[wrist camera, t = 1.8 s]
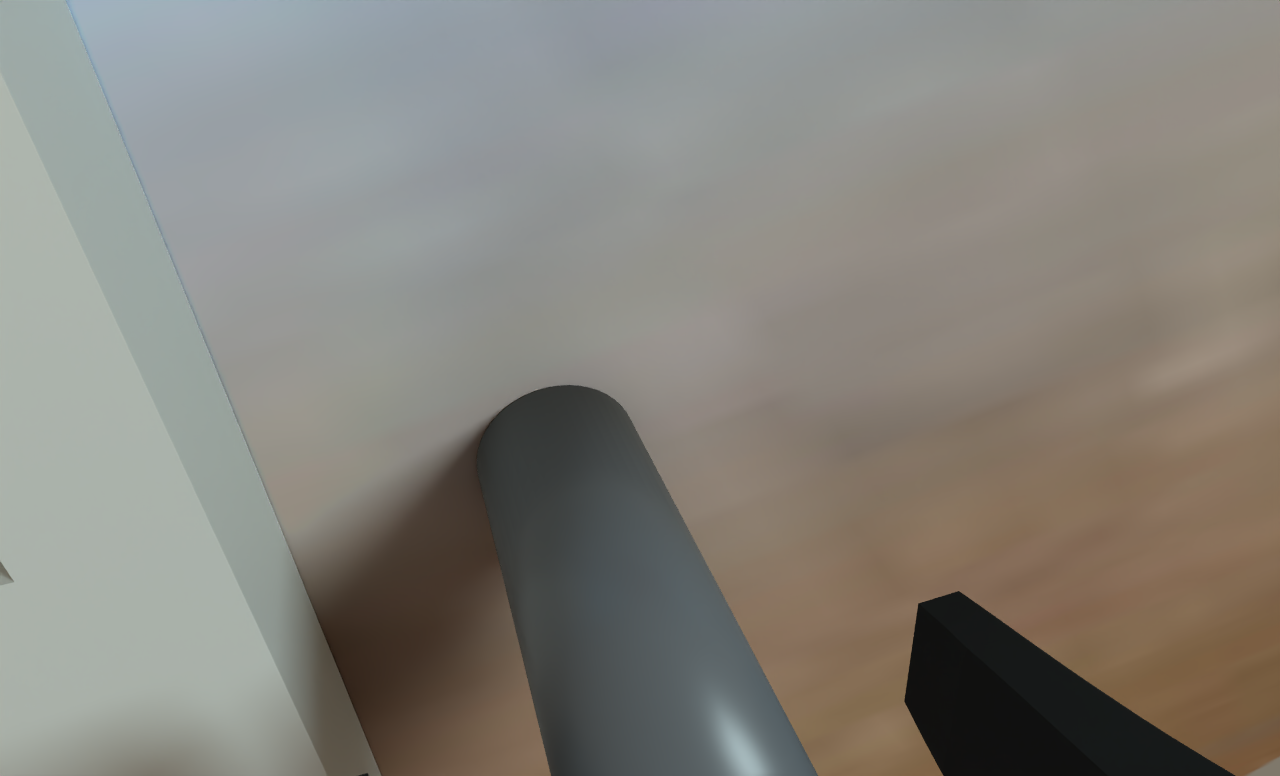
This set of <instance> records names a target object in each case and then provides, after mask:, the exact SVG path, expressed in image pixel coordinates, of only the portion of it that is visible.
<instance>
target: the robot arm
mask: <svg viewBox="0 0 1280 776" xmlns="http://www.w3.org/2000/svg"><path fill="white" fill-rule="evenodd" d="M905 703H906V705H907V707H908V709H909V711H910V713H911V715H912V717H913V719H914V721H915V723H916V725H917V727H918V729H919V731H920V733H921V735H922V737H923V739H924V741H925V743H926V744H927V746H928V748H929V750H930V752H931V754H932V755H933V757H934V759H935V761H936V763H937V765H938V767H939V768H940V770H941V772H942V774H943V775H944V776H1235V775H1233V774H1232V773H1230V772H1228V771H1227V770H1225V769H1223V768H1222V767H1220V766H1218V765H1217V764H1215V763H1213V762H1212V761H1210V760H1208V759H1207V758H1205V757H1203V756H1202V755H1200V754H1198V753H1197V752H1195V751H1194V750H1192V749H1190V748H1189V747H1187V746H1185V745H1184V744H1182V743H1181V742H1179V741H1177V740H1176V739H1174V738H1172V737H1171V736H1169V735H1168V734H1166V733H1164V732H1163V731H1161V730H1160V729H1158V728H1157V727H1155V726H1154V725H1152V724H1150V723H1149V722H1147V721H1146V720H1144V719H1143V718H1141V717H1140V716H1138V715H1137V714H1135V713H1134V712H1132V711H1131V710H1129V709H1128V708H1126V707H1125V706H1123V705H1122V704H1120V703H1119V702H1117V701H1116V700H1114V699H1113V698H1111V697H1110V696H1108V695H1107V694H1105V693H1104V692H1102V691H1101V690H1099V689H1098V688H1096V687H1095V686H1093V685H1092V684H1090V683H1089V682H1087V681H1086V680H1084V679H1083V678H1081V677H1080V676H1078V675H1077V674H1076V673H1074V672H1073V671H1071V670H1070V669H1068V668H1067V667H1065V666H1064V665H1063V664H1061V663H1060V662H1058V661H1057V660H1055V659H1054V658H1053V657H1051V656H1050V655H1048V654H1047V653H1045V652H1044V651H1043V650H1041V649H1040V648H1038V647H1037V646H1036V645H1034V644H1033V643H1031V642H1030V641H1029V640H1027V639H1026V638H1024V637H1023V636H1021V635H1020V634H1019V633H1017V632H1016V631H1014V630H1013V629H1012V628H1010V627H1009V626H1007V625H1006V624H1005V623H1003V622H1002V621H1001V620H999V619H998V618H996V617H995V616H993V615H992V614H991V613H989V612H988V611H986V610H985V609H984V608H982V607H981V606H979V605H978V604H977V603H975V602H974V601H972V600H971V599H969V598H968V597H967V596H965V595H964V594H962V593H961V592H959V591H958V592H955V593H951V594H948V595H945V596H942V597H938V598H935V599H932V600H929V601H925V602H922V603H919V604H918V610H917V617H916V624H915V631H914V638H913V645H912V652H911V659H910V666H909V673H908V680H907V687H906V694H905ZM359 776H369V775H368V773H365V774H362V775H359Z"/></svg>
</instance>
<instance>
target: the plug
mask: <svg viewBox="0 0 1280 776" xmlns="http://www.w3.org/2000/svg"><path fill="white" fill-rule="evenodd" d="M477 472H478V477H479V481H480V485H481V489H482V493H483V497H484V502H485V506H486V510H487V514H488V518H489V522H490V526H491V530H492V534H493V539H494V543H495V547H496V551H497V555H498V559H499V563H500V567H501V571H502V576H503V580H504V584H505V588H506V592H507V596H508V600H509V604H510V608H511V613H512V617H513V621H514V625H515V629H516V633H517V637H518V641H519V645H520V649H521V654H522V658H523V662H524V666H525V670H526V674H527V678H528V682H529V686H530V691H531V695H532V699H533V703H534V707H535V711H536V715H537V719H538V723H539V728H540V732H541V736H542V740H543V744H544V748H545V752H546V756H547V760H548V765H549V769H550V773H551V776H818V775H817V773H816V771H815V769H814V767H813V765H812V763H811V761H810V760H809V758H808V756H807V754H806V752H805V750H804V748H803V746H802V744H801V742H800V741H799V739H798V737H797V735H796V733H795V731H794V729H793V727H792V725H791V723H790V722H789V720H788V718H787V716H786V714H785V712H784V710H783V708H782V706H781V704H780V703H779V701H778V699H777V697H776V695H775V693H774V691H773V689H772V687H771V685H770V684H769V682H768V680H767V678H766V676H765V674H764V672H763V670H762V668H761V666H760V665H759V663H758V661H757V659H756V657H755V655H754V653H753V651H752V649H751V647H750V646H749V644H748V642H747V640H746V638H745V636H744V634H743V632H742V630H741V628H740V627H739V625H738V623H737V621H736V619H735V617H734V615H733V613H732V611H731V609H730V608H729V606H728V604H727V602H726V600H725V598H724V596H723V594H722V592H721V590H720V589H719V587H718V585H717V583H716V581H715V579H714V577H713V575H712V573H711V571H710V570H709V568H708V566H707V564H706V562H705V560H704V558H703V556H702V554H701V552H700V551H699V549H698V547H697V545H696V543H695V541H694V539H693V537H692V535H691V533H690V532H689V530H688V528H687V526H686V524H685V522H684V520H683V518H682V516H681V514H680V513H679V511H678V509H677V507H676V505H675V503H674V501H673V499H672V497H671V496H670V494H669V492H668V490H667V488H666V486H665V484H664V482H663V480H662V478H661V477H660V475H659V473H658V471H657V469H656V467H655V465H654V463H653V461H652V459H651V458H650V456H649V454H648V452H647V450H646V448H645V446H644V444H643V442H642V440H641V439H640V437H639V435H638V433H637V431H636V429H635V427H634V425H633V423H632V421H631V420H630V418H629V416H628V414H627V412H626V411H625V410H624V409H623V407H622V406H621V405H620V404H619V403H618V402H617V401H615V400H614V399H613V398H611V397H610V396H608V395H607V394H605V393H602V392H600V391H598V390H595V389H592V388H588V387H583V386H574V385H564V386H554V387H548V388H544V389H541V390H537V391H534V392H532V393H530V394H527V395H525V396H523V397H521V398H519V399H518V400H516V401H514V402H513V403H512V404H510V405H509V406H507V407H506V408H505V409H504V410H503V411H502V412H500V413H499V414H498V415H497V417H496V418H495V419H494V420H493V421H492V422H491V424H490V425H489V427H488V428H487V430H486V431H485V433H484V435H483V437H482V439H481V442H480V445H479V448H478V454H477Z"/></svg>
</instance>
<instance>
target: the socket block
mask: <svg viewBox="0 0 1280 776" xmlns="http://www.w3.org/2000/svg"><path fill="white" fill-rule="evenodd" d="M365 773H368V775H369V776H381V774H380V771H379V769H378V766H377V764H376V761H375V759H374V757H373V754H372V752H371V749H370V747H369V744H368V742H367V739H366V737H365V734H364V732H363V730H362V727H361V725H360V722H359V720H358V717H357V715H356V712H355V710H354V707H353V705H352V703H351V700H350V698H349V695H348V693H347V690H346V688H345V685H344V683H343V680H342V678H341V676H340V673H339V671H338V668H337V666H336V663H335V661H334V658H333V656H332V653H331V651H330V649H329V646H328V644H327V641H326V639H325V636H324V634H323V631H322V629H321V626H320V624H319V622H318V619H317V617H316V614H315V612H314V609H313V607H312V604H311V602H310V599H309V597H308V594H307V592H306V590H305V587H304V585H303V582H302V580H301V577H300V575H299V572H298V570H297V567H296V565H295V563H294V560H293V558H292V555H291V553H290V550H289V548H288V545H287V543H286V540H285V538H284V536H283V533H282V531H281V528H280V526H279V523H278V521H277V518H276V516H275V513H274V511H273V509H272V506H271V504H270V501H269V499H268V496H267V494H266V491H265V489H264V486H263V484H262V482H261V479H260V477H259V474H258V472H257V469H256V467H255V464H254V462H253V459H252V457H251V455H250V452H249V450H248V447H247V445H246V442H245V440H244V437H243V435H242V432H241V430H240V427H239V425H238V423H237V420H236V418H235V415H234V413H233V410H232V408H231V405H230V403H229V400H228V398H227V396H226V393H225V391H224V388H223V386H222V383H221V381H220V378H219V376H218V373H217V371H216V369H215V366H214V364H213V361H212V359H211V356H210V354H209V351H208V349H207V346H206V344H205V342H204V339H203V337H202V334H201V332H200V329H199V327H198V324H197V322H196V319H195V317H194V315H193V312H192V310H191V307H190V305H189V302H188V300H187V297H186V295H185V292H184V290H183V288H182V285H181V283H180V280H179V278H178V275H177V273H176V270H175V268H174V265H173V263H172V261H171V258H170V256H169V253H168V251H167V248H166V246H165V243H164V241H163V238H162V236H161V233H160V231H159V229H158V226H157V224H156V221H155V219H154V216H153V214H152V211H151V209H150V206H149V204H148V202H147V199H146V197H145V194H144V192H143V189H142V187H141V184H140V182H139V179H138V177H137V175H136V172H135V170H134V167H133V165H132V162H131V160H130V157H129V155H128V152H127V150H126V148H125V145H124V143H123V140H122V138H121V135H120V133H119V130H118V128H117V125H116V123H115V121H114V118H113V116H112V113H111V111H110V108H109V106H108V103H107V101H106V98H105V96H104V94H103V91H102V89H101V86H100V84H99V81H98V79H97V76H96V74H95V71H94V69H93V67H92V64H91V62H90V59H89V57H88V54H87V52H86V49H85V47H84V44H83V42H82V39H81V37H80V35H79V32H78V30H77V27H76V25H75V22H74V20H73V17H72V15H71V12H70V10H69V8H68V5H67V3H66V0H0V776H359V775H362V774H365Z"/></svg>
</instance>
